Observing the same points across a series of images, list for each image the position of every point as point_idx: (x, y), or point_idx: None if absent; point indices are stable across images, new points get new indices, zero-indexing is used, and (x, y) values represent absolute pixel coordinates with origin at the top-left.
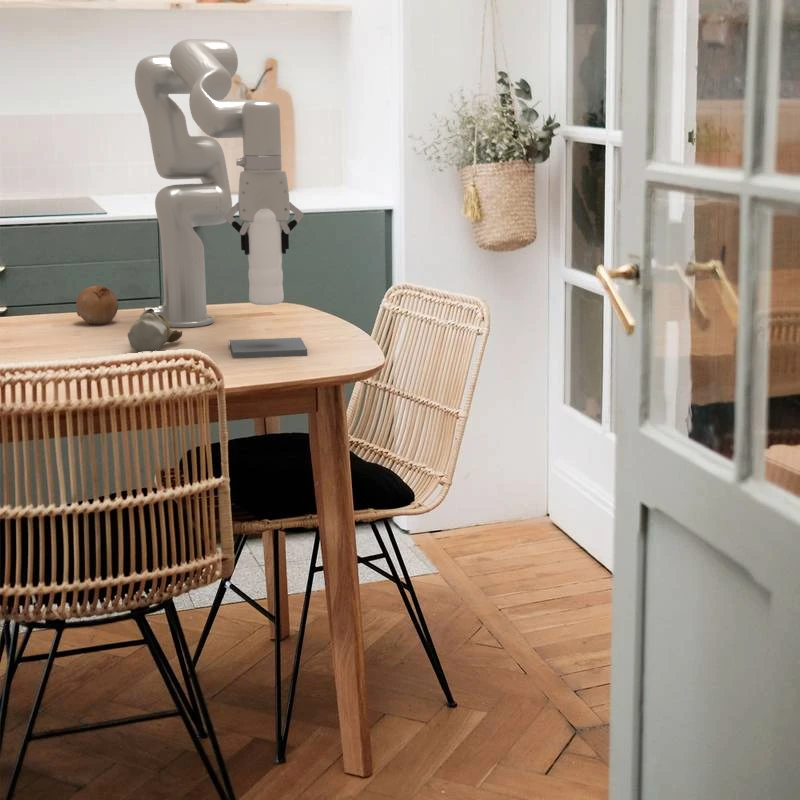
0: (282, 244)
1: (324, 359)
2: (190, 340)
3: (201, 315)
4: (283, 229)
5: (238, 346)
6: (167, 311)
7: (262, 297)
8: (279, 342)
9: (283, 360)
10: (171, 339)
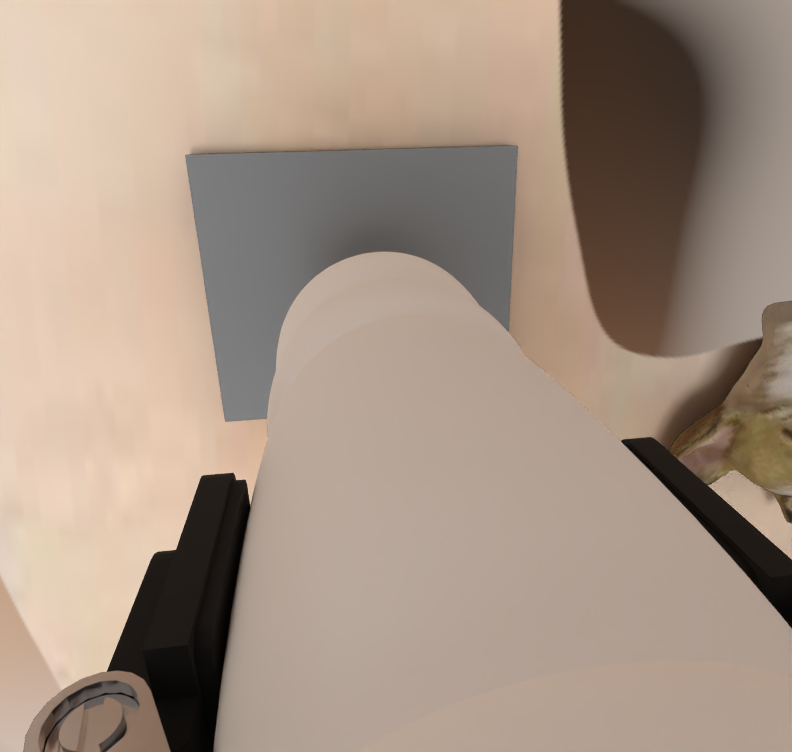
0: (227, 534)
1: (103, 43)
2: None
3: None
4: (157, 738)
5: (483, 274)
6: None
7: (416, 259)
8: None
9: (299, 58)
10: (708, 413)
